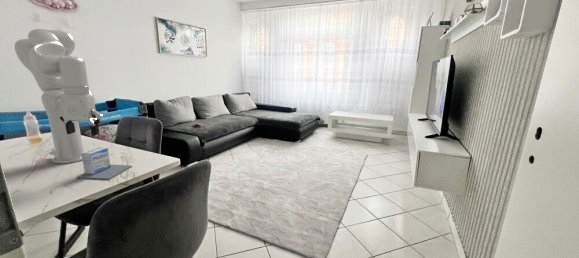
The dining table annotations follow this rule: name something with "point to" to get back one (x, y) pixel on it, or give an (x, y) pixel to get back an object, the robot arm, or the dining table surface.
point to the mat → (106, 172)
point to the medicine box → (96, 160)
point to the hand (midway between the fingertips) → (83, 134)
